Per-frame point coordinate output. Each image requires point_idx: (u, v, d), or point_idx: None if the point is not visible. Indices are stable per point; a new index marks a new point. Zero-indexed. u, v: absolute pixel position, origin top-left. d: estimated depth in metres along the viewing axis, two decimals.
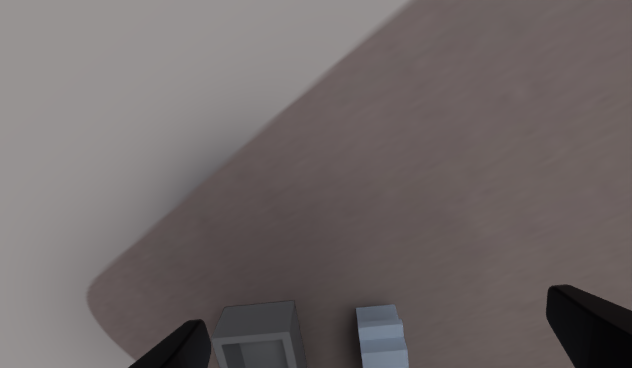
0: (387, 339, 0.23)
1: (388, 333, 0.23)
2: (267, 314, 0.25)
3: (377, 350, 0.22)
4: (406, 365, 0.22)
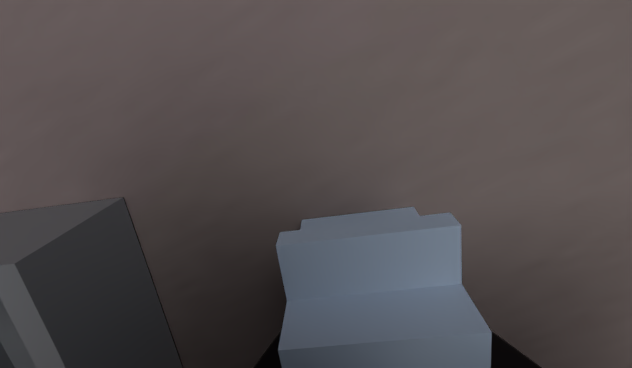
0: (394, 294, 0.06)
1: (401, 267, 0.06)
2: (15, 227, 0.08)
3: (352, 336, 0.05)
4: None
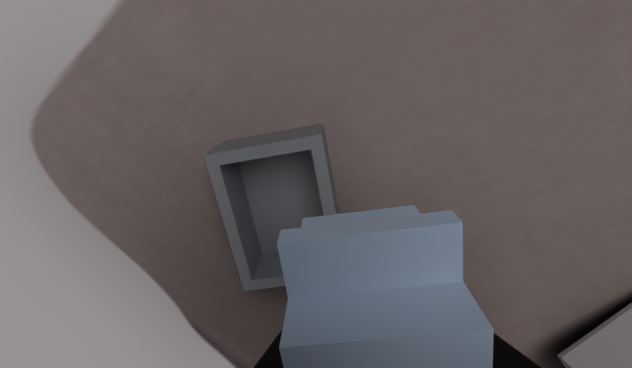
0: (396, 291, 0.06)
1: (402, 264, 0.06)
2: (286, 134, 0.17)
3: (353, 334, 0.05)
4: None
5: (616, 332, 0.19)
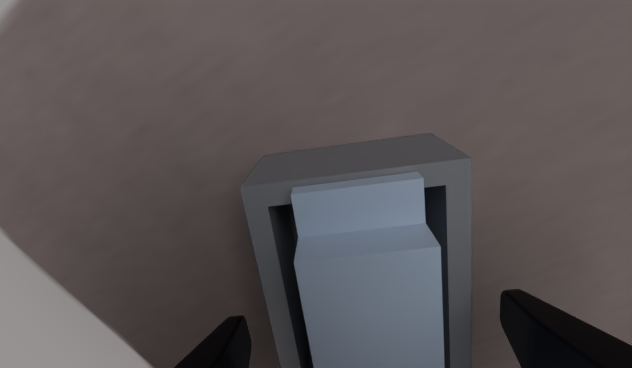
0: (377, 230, 0.08)
1: (381, 210, 0.08)
2: (378, 149, 0.10)
3: (345, 253, 0.07)
4: (436, 302, 0.07)
5: None
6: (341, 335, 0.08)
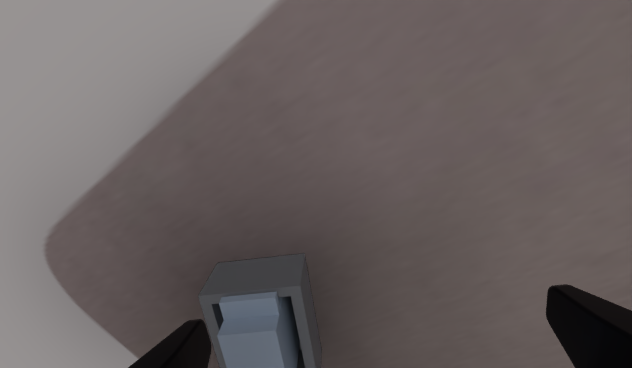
0: (257, 318, 0.18)
1: (259, 309, 0.17)
2: (271, 268, 0.20)
3: (239, 331, 0.17)
4: (278, 351, 0.17)
5: None
6: (240, 365, 0.17)
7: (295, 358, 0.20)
